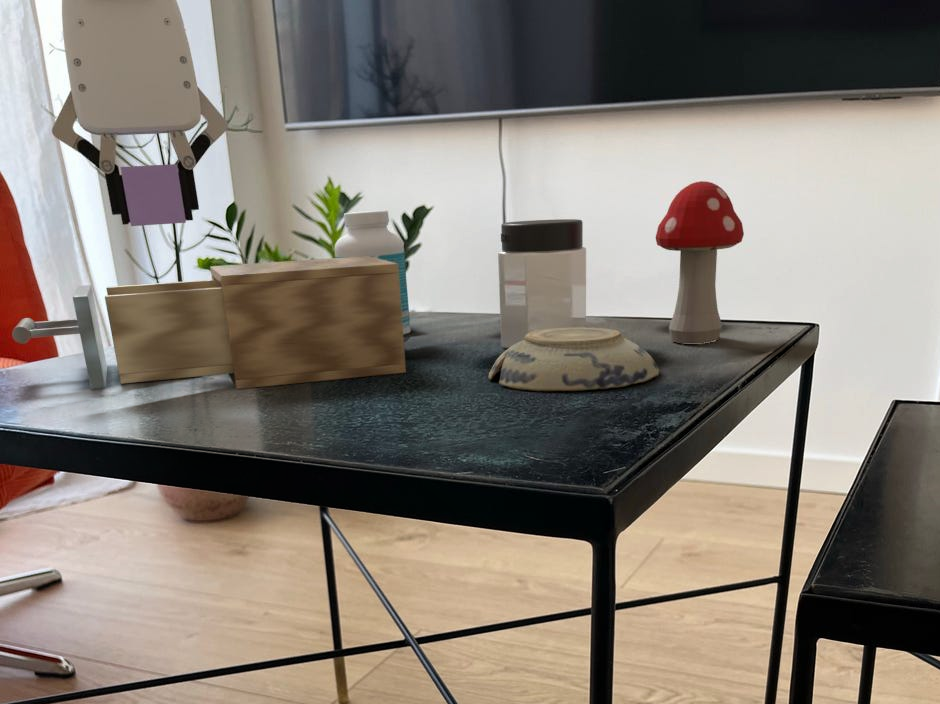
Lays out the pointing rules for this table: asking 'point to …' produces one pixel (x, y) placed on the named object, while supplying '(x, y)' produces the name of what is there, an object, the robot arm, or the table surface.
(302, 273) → the cabinet
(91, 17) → the robot arm
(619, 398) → the table surface
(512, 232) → the jar
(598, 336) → the decorative bowl
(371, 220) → the pill bottle
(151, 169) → the cube
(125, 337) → the drawer
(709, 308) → the decorative mushroom
